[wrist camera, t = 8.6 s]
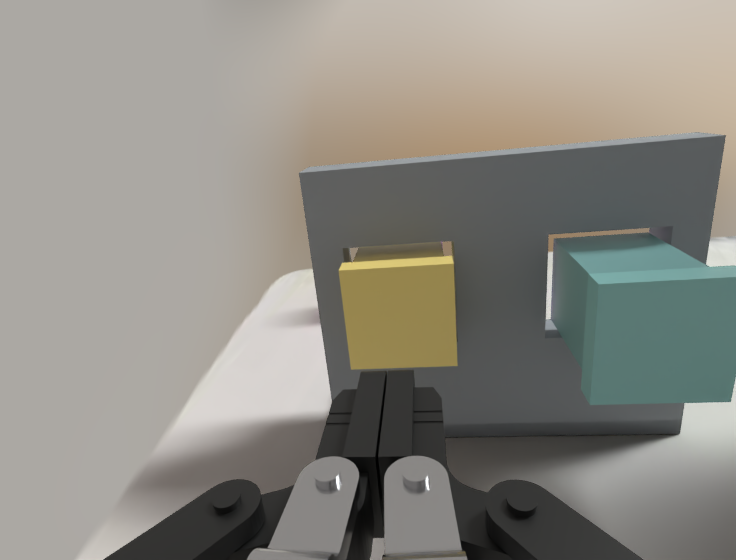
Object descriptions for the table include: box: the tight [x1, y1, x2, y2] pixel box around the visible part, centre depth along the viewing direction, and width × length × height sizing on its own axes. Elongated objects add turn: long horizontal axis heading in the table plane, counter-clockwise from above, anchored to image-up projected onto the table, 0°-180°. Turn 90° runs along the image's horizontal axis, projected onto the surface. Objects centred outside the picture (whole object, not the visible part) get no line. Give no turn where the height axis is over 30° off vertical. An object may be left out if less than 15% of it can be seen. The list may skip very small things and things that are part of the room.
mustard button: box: [339, 242, 458, 370], centre depth 23 cm, size 5×6×5 cm
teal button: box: [551, 233, 736, 405], centre depth 19 cm, size 5×6×5 cm
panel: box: [299, 132, 726, 437], centre depth 24 cm, size 17×5×14 cm, turn 85°
